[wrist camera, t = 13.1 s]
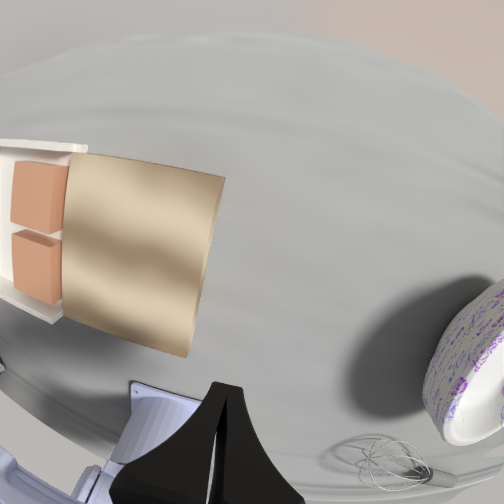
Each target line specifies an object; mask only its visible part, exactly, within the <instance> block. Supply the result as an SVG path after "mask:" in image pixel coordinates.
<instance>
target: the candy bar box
mask: <svg viewBox="0 0 504 504" xmlns="http://www.w3.org/2000/svg"><path fill="white" fill-rule="evenodd" d="M4 370H6V368H5V366H4V364H3V362H2V360H1V358H0V374H1V373H2V372H3V371H4Z"/></svg>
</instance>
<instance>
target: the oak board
mask: <svg viewBox="0 0 504 504" xmlns="http://www.w3.org/2000/svg"><path fill="white" fill-rule="evenodd" d="M224 182H225V177H221V176H216V175H212V174H207V173H202V172H197V171H192V170H187V169H182V168H177V167H172V166H166V165H161V164H155V163H150V162H144V161H138V160H132V159H126V158H119V157H113V156H106V155H99V154H91V153H80V152H72V156H71V161H70V168H69V174H68V181H67V189H66V198H65V207H64V219H63V235H62V302H63V316H65V317H68V318H70V319H72V320H75V321H77V322H80V323H82V324H85V325H87V326H90V327H92V328H95V329H97V330H100V331H103V332H105V333H108V334H111V335H114V336H116V337H119V338H122V339H125V340H128V341H131V342H134V343H137V344H140V345H143V346H146V347H149V348H152V349H156V350H159V351H162V352H165V353H169V354H172V355H176V356H179V357H183V358H186V357H187V355H188V352H189V350H190V347H191V345H192V340H193V334H194V328H195V323H196V317H197V312H198V306H199V301H200V295H201V290H202V285H203V280H204V275H205V270H206V265H207V260H208V255H209V250H210V245H211V240H212V236H213V231H214V226H215V222H216V217H217V212H218V208H219V203H220V199H221V195H222V190H223V186H224Z"/></svg>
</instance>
